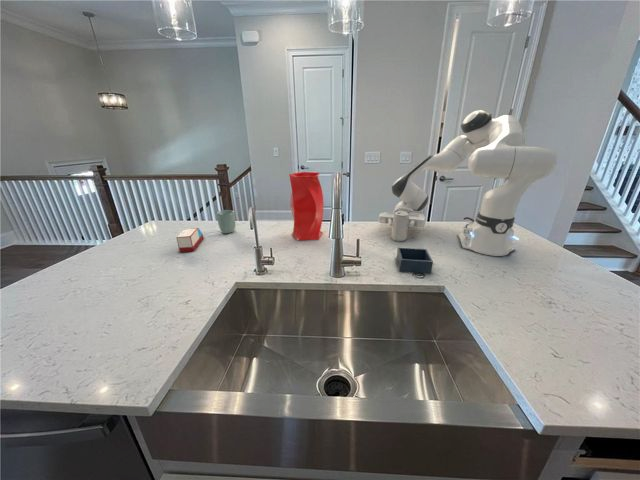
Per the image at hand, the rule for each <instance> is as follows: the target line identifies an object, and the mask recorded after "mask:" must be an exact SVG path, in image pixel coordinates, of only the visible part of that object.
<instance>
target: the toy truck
mask: <svg viewBox="0 0 640 480" xmlns="http://www.w3.org/2000/svg"><path fill="white" fill-rule="evenodd" d="M203 239H204V234H203V232H202V231H201V230H200V228H199V227H193V228H192V227H191V228H186V229H183V230H182V231H181V232H180V233H179V234H178V235H177V236H176V243H177V247H178V250H179V253H188V252H189V253H190V252H194V251H195V250H196V248H197V247H198V246H199V244H200V243H201V242H202V241H203Z"/></svg>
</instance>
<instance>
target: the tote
mask: <svg viewBox="0 0 640 480" xmlns="http://www.w3.org/2000/svg"><path fill="white" fill-rule="evenodd" d="M396 262H397V267H398V270H399V272H400V273H409V274H410V273H411V274H412V273H413V274H424V275H425V274H427V275H431V274H432V271H433V265H434V261H433V259H432V257H431V255H430V253H429V251H428V249H427V248H414V247H413V248H412V247H397V251H396Z"/></svg>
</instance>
